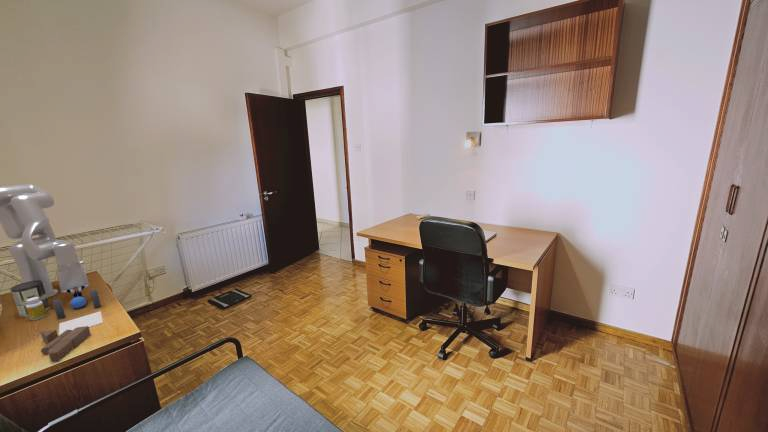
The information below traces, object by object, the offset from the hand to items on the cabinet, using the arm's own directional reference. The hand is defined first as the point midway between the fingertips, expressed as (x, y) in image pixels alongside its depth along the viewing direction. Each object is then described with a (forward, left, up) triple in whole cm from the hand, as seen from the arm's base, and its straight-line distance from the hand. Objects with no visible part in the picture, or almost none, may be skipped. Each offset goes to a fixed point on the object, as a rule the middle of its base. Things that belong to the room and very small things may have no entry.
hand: (78, 299), depth 157 cm
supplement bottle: (+4, -14, -2) cm, 15 cm away
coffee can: (-5, -16, -2) cm, 17 cm away
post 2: (+13, +6, -2) cm, 15 cm away
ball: (+6, 0, +1) cm, 7 cm away
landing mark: (+27, 0, -2) cm, 27 cm away
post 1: (+13, -7, -2) cm, 15 cm away
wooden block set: (+44, -9, -3) cm, 45 cm away
